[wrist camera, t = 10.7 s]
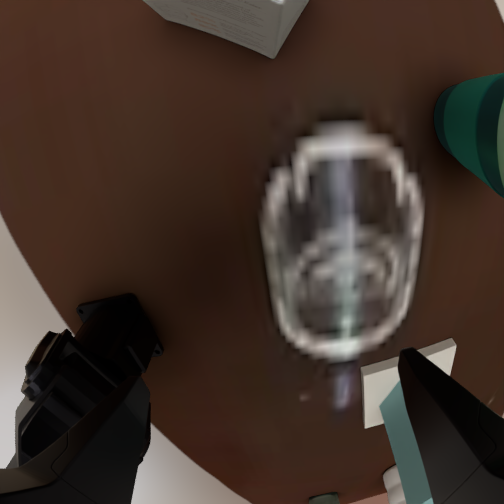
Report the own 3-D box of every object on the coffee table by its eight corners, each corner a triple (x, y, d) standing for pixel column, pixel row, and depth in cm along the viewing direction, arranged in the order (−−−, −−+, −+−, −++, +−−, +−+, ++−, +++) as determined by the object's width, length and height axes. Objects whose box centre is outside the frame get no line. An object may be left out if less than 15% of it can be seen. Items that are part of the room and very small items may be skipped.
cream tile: (362, 420, 31) (364, 428, 30) (360, 367, 27) (363, 376, 26) (439, 395, 29) (442, 402, 28) (451, 337, 25) (456, 345, 24)
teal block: (379, 406, 28) (408, 511, 16) (403, 374, 26) (447, 487, 14) (413, 406, 28) (447, 501, 16) (438, 376, 26) (483, 475, 14)
